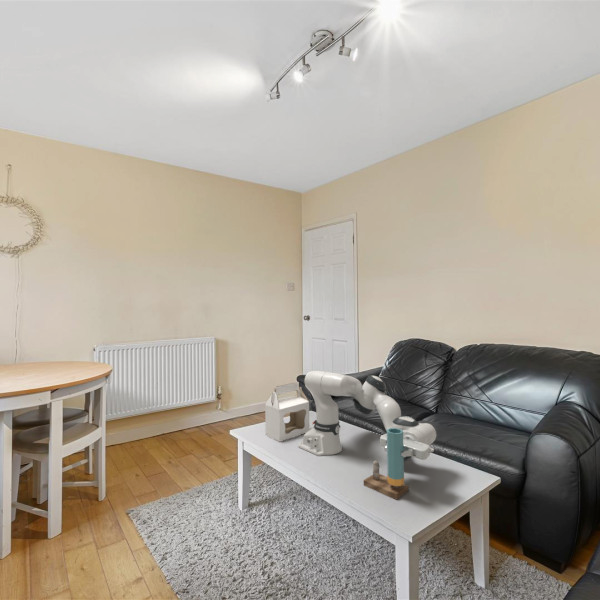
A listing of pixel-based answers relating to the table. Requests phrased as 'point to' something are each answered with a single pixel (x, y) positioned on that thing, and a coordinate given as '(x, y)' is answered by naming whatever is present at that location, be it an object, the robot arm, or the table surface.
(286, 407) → the gable box
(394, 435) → the sleeve
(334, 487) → the table surface
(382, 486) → the pin board
